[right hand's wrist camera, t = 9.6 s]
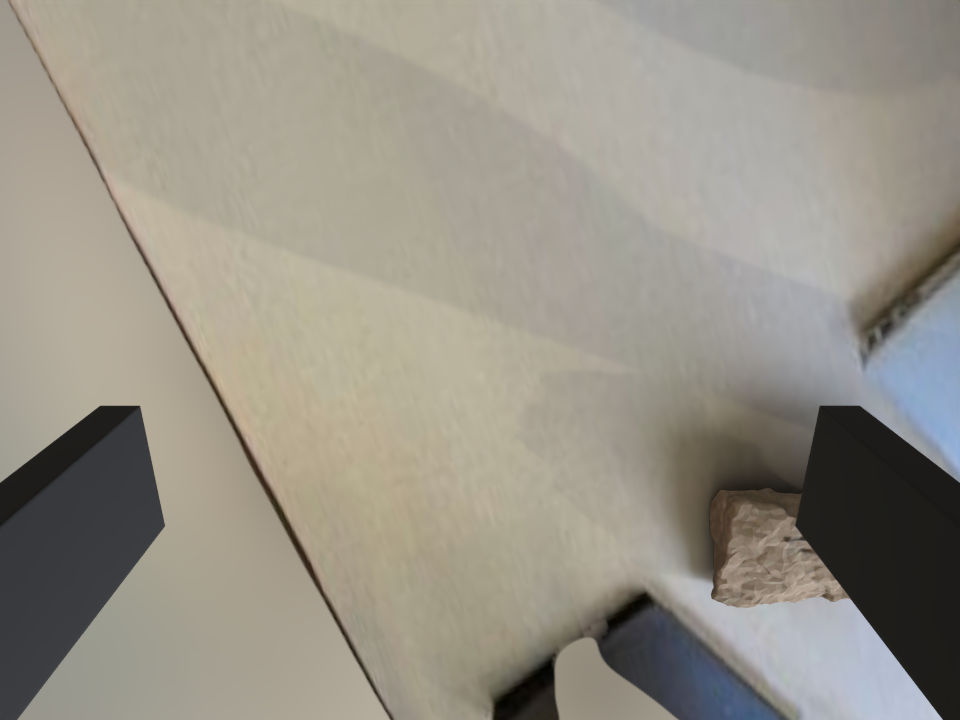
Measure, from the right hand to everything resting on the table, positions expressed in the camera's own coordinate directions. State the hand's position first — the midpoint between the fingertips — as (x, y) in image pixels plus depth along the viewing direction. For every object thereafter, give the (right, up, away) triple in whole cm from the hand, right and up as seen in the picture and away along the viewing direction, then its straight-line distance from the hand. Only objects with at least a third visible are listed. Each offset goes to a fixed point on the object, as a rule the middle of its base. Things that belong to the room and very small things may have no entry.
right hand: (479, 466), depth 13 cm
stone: (+32, -14, +49) cm, 60 cm away
